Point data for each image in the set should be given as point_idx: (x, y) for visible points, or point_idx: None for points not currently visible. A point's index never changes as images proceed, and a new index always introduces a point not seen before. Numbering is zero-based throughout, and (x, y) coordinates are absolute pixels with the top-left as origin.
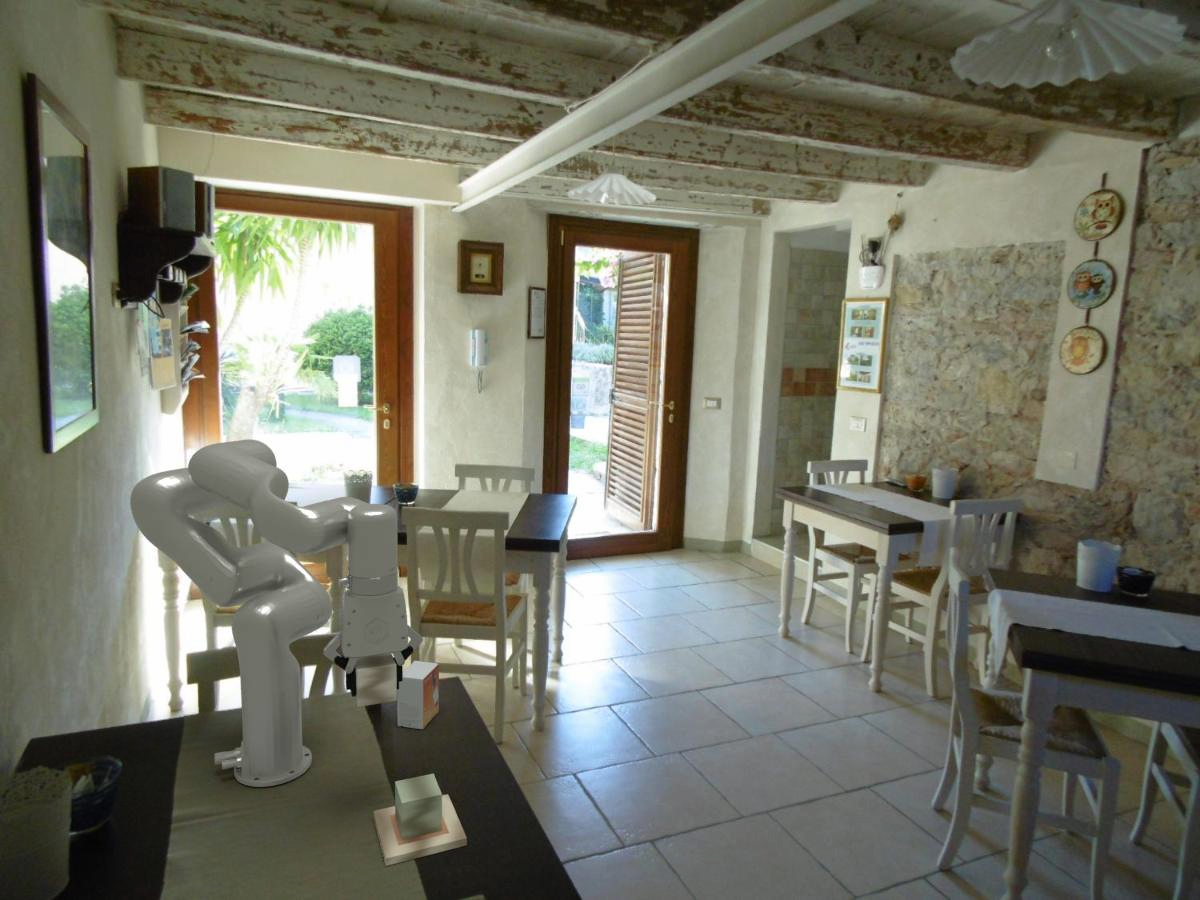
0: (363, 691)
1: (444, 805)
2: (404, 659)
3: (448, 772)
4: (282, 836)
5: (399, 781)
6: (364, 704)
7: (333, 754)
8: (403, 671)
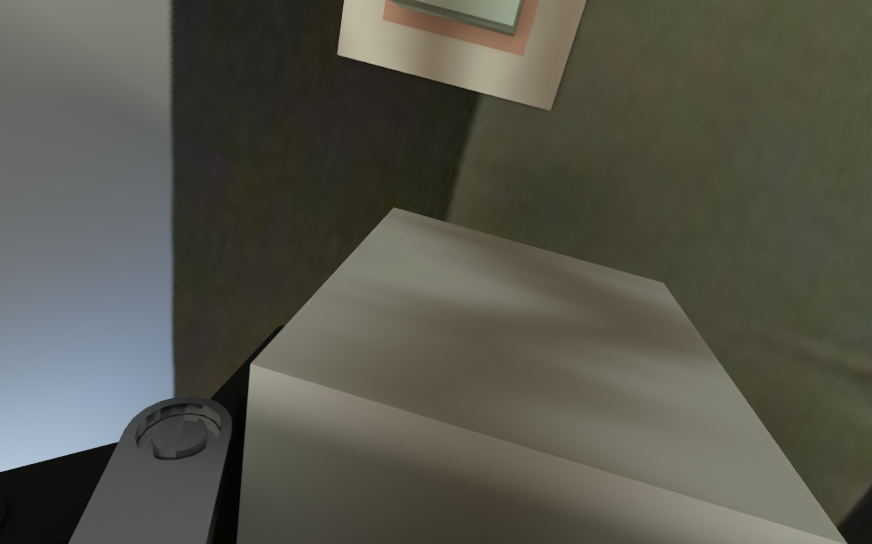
0: (651, 329)
1: (367, 1)
2: (126, 453)
3: (296, 182)
4: (781, 182)
5: (499, 14)
6: (616, 275)
7: None
8: None
